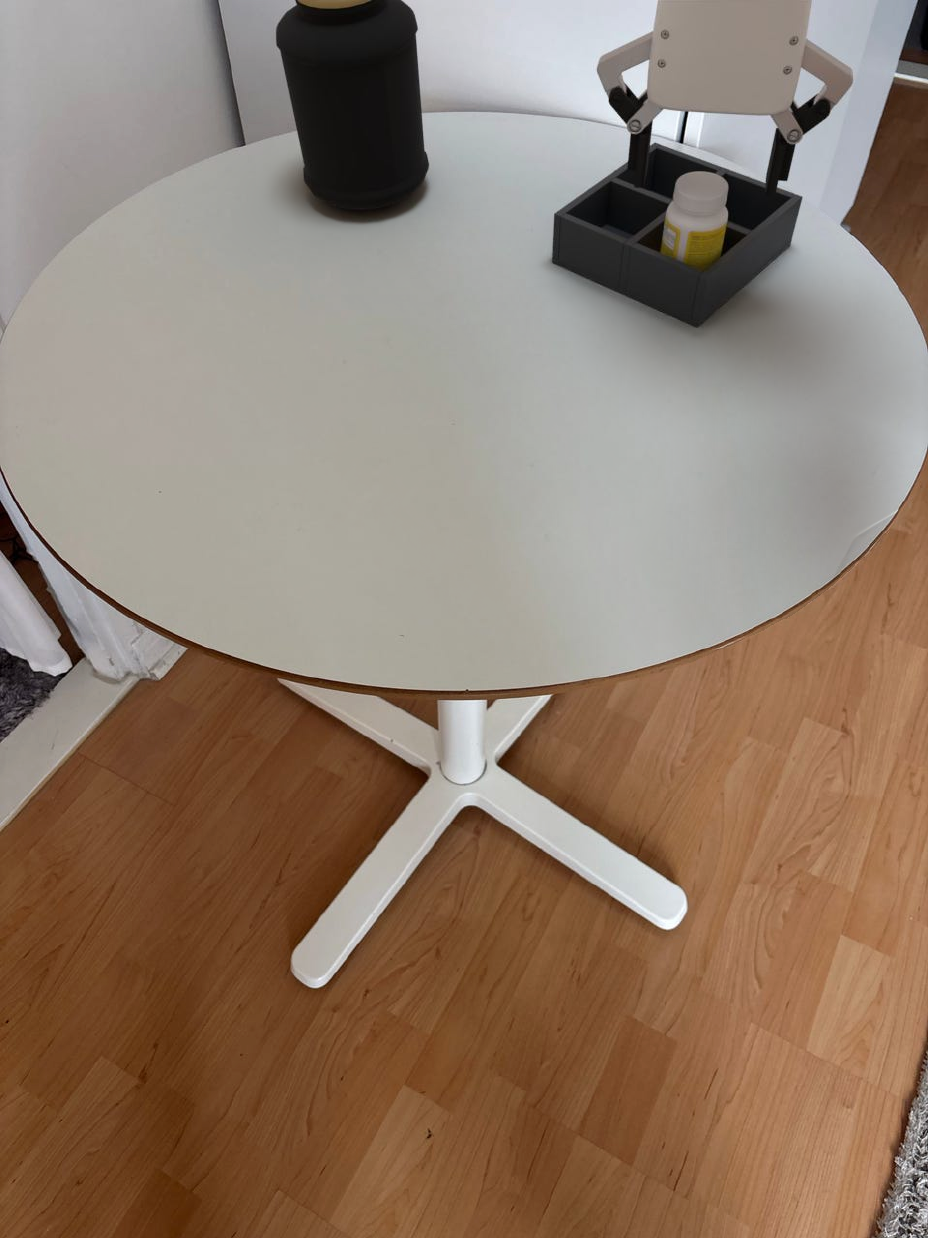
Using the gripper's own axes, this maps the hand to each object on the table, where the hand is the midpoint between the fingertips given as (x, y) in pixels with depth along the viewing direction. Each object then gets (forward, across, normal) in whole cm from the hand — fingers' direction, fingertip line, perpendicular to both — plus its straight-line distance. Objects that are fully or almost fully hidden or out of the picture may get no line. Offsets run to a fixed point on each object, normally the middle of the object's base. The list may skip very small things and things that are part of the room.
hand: (704, 183), depth 74 cm
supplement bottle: (+9, 0, 0) cm, 9 cm away
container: (+9, +31, -11) cm, 34 cm away
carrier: (+9, +2, -5) cm, 11 cm away
